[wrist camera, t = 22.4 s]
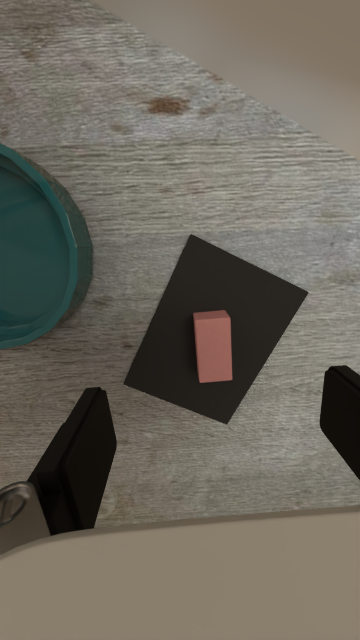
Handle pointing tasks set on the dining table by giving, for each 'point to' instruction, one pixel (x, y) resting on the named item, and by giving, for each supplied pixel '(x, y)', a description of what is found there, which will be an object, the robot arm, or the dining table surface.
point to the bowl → (38, 251)
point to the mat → (203, 296)
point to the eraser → (213, 346)
